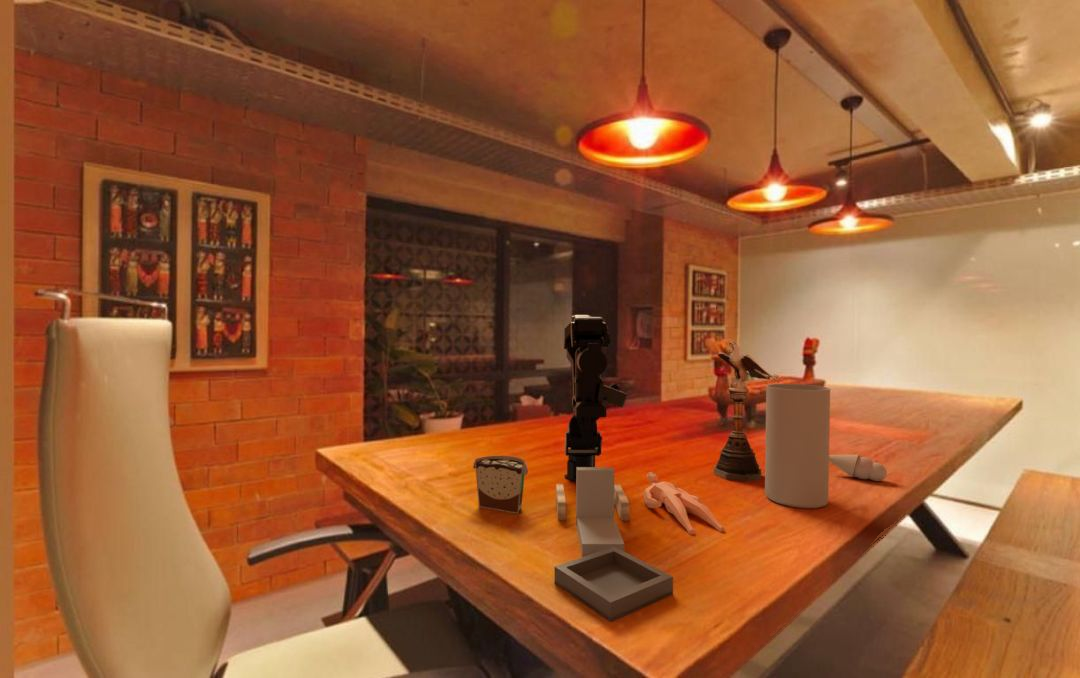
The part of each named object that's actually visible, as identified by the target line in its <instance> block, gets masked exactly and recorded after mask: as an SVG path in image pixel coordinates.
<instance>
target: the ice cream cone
mask: <svg viewBox="0 0 1080 678" xmlns="http://www.w3.org/2000/svg"><path fill="white" fill-rule="evenodd" d="M829 463H830V464H832V465H833V466H835V467H836V468H838V469H840V470H842V472H844V473H846V474H847V475H848V476H850V477H851V478H855V477H856V478H857V479H860V480H871V481H874V482H882V481H883V480H885V479H886V477H887V476H888V475H887V474H888V472H887V471H888V470H887V469H886V467H885V466H884V465H883V464H881V463H880V462H876V461H875V462H874V461H873V460H872V459H870V458H869V457H866V456H860V454H858V453H857V454H856V453H855V454H829Z"/></svg>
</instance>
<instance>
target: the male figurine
mask: <svg viewBox="0 0 1080 678" xmlns="http://www.w3.org/2000/svg"><path fill="white" fill-rule="evenodd" d="M646 479H647V480H648V482H650V484H651V485H649V486H648V487H646V488H645V490H644V491H643V494H642V496H643V501H644V504H645V505H646V507H648V508H649V509H659V508H660V507H662V505H663V504H664V507H665V509H666V510H667V512H668V513H670V514H672V515H673V516H674V517H675V518H676V520H678V523H680V524H681V525H682V526H683V527H684V529H686V532H687V533H688V535H695V534H696V530H695V529H694V527H693V525H692V524H691V522H690V518H689V516H688V514H695V515H697V516H698V517H699V518H701V519H702V520H703V521H705V522H707V523H708V524H709V525H711V526H712V527H713V528H714V529H716V530H717V531H718V532H720V533H721V532H724V531H725V527H724V526H723V525H722V524H721V523H720V522H719V521H718V520H717V519H716V517H715V515H714V514H713V513H712V512H711V510H710V509H709V507H707V505H705V504H703V503H702V502H703V501H702V498H701V497H698V496H695V495H693V494H692V495H691V494H689V493H688V492H687V491H685V490H683V489H682V488H680V487H676V486H675V485H674V484H673V483H671V482H667V481H665V480H664V481H661V482H660V481H659V477H658V476H657V474H655V472H654V471H649V472H648V473H647V474H646Z"/></svg>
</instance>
